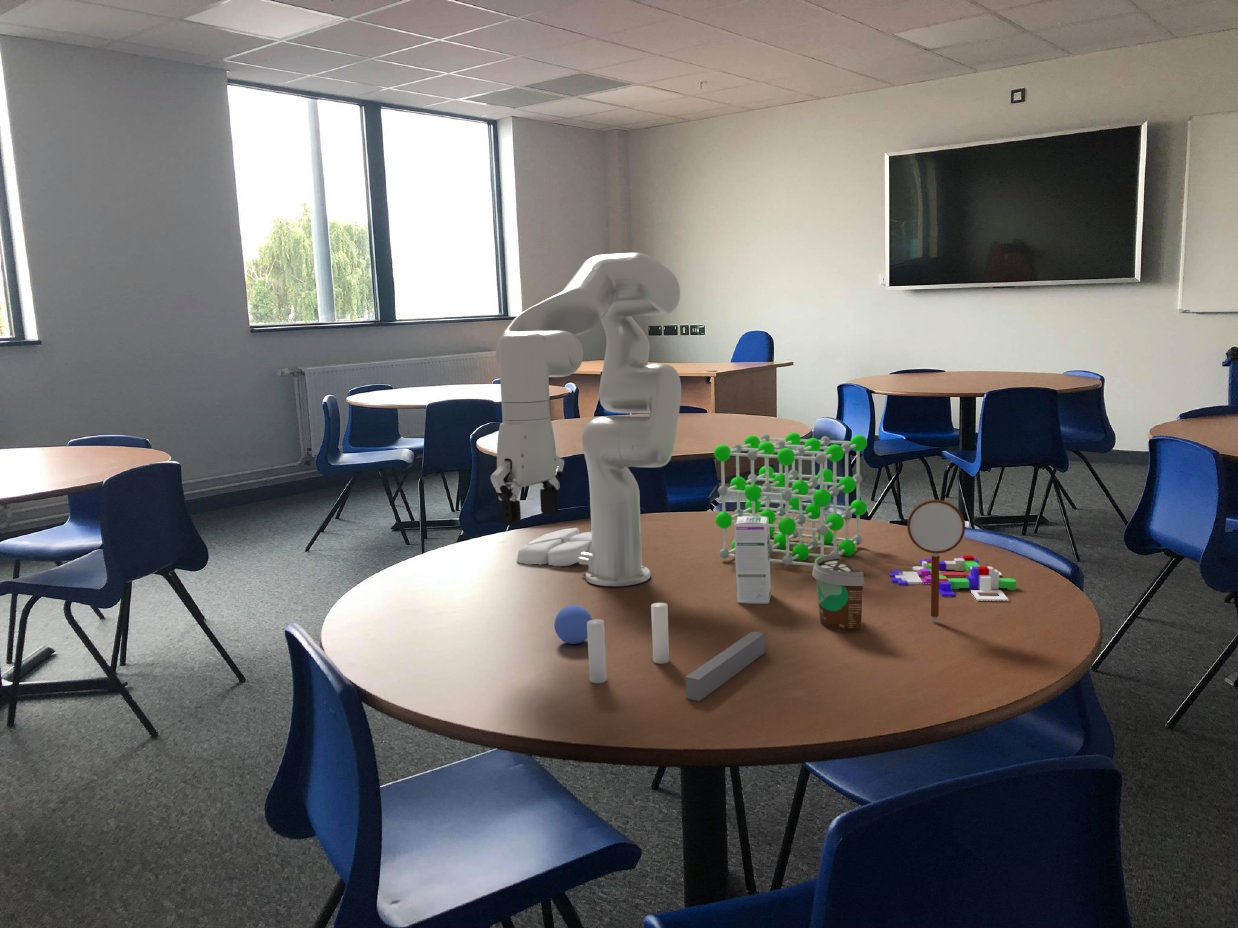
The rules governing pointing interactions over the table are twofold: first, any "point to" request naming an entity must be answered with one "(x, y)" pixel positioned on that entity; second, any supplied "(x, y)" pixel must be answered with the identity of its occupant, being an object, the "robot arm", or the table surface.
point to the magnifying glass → (936, 537)
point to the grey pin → (596, 651)
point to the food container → (838, 594)
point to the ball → (572, 624)
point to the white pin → (660, 633)
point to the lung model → (556, 548)
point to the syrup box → (752, 559)
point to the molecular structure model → (795, 494)
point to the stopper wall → (724, 666)
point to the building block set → (975, 579)
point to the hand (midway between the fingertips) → (531, 519)
